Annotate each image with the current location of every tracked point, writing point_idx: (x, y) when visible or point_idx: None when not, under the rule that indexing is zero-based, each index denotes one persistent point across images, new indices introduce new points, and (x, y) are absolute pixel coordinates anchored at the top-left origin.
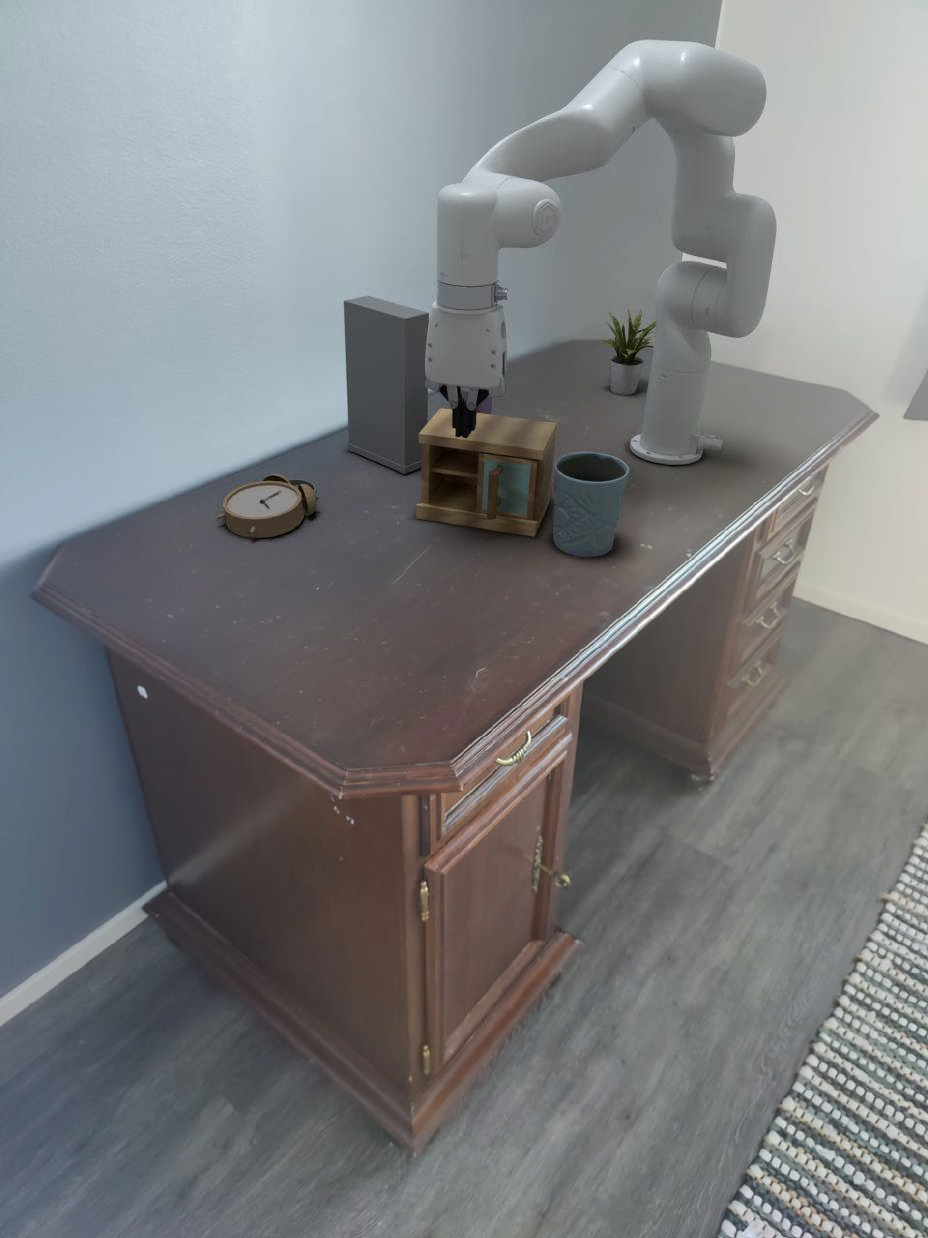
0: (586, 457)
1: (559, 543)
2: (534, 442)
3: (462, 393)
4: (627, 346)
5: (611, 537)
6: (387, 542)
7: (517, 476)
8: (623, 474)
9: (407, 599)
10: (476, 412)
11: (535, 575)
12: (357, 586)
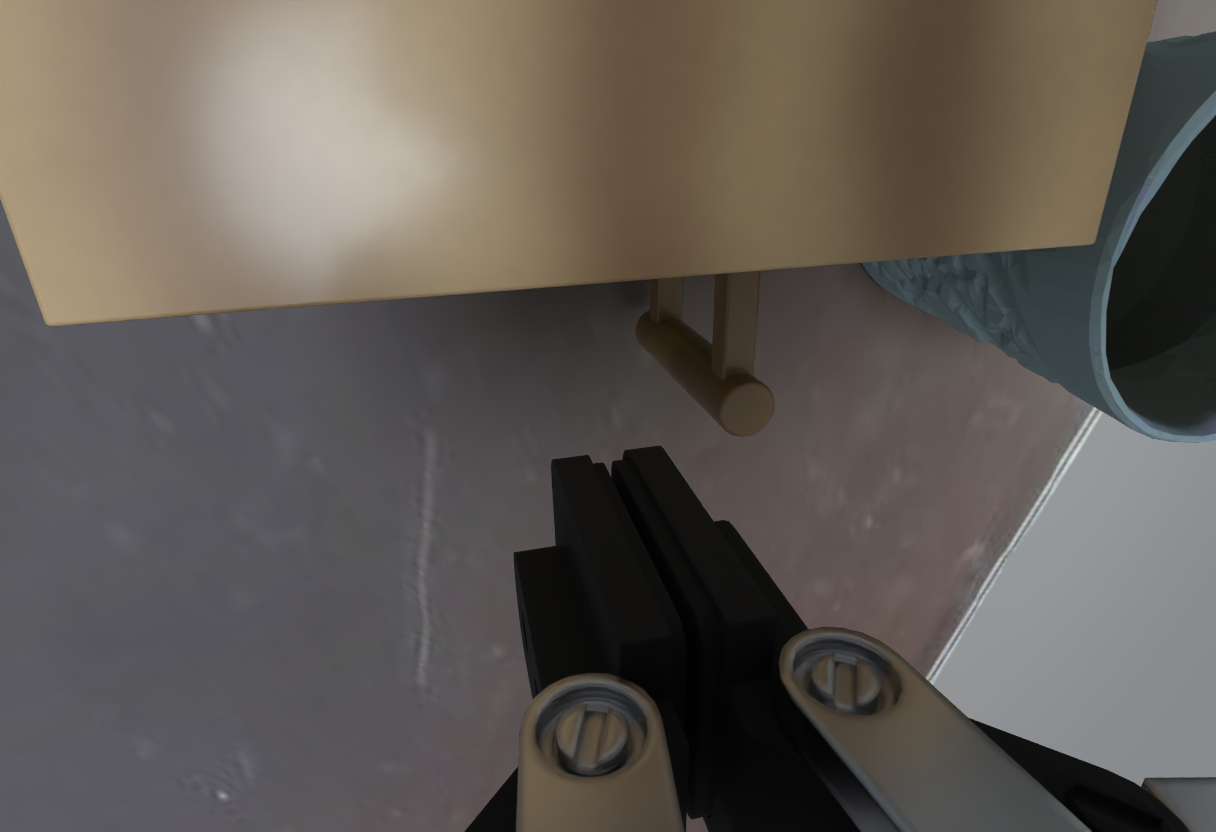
0: None
1: (882, 284)
2: (1050, 121)
3: (671, 773)
4: None
5: None
6: (260, 483)
7: None
8: None
9: (497, 719)
10: (787, 608)
11: (806, 463)
12: (329, 737)
